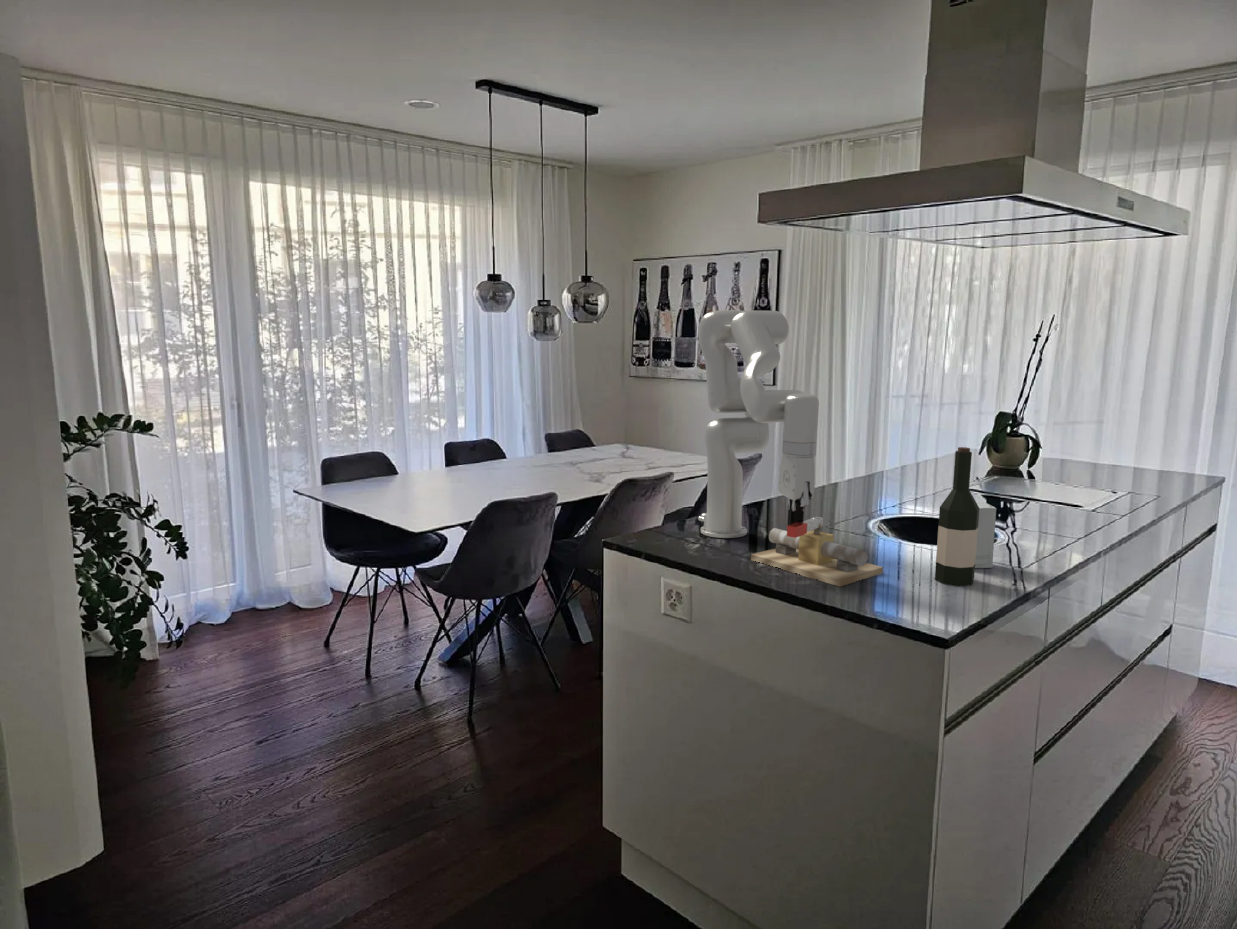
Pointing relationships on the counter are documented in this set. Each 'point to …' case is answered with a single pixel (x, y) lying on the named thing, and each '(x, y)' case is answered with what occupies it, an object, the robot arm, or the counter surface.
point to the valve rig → (817, 558)
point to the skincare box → (985, 536)
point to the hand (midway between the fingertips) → (795, 526)
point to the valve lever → (804, 527)
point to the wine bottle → (958, 528)
